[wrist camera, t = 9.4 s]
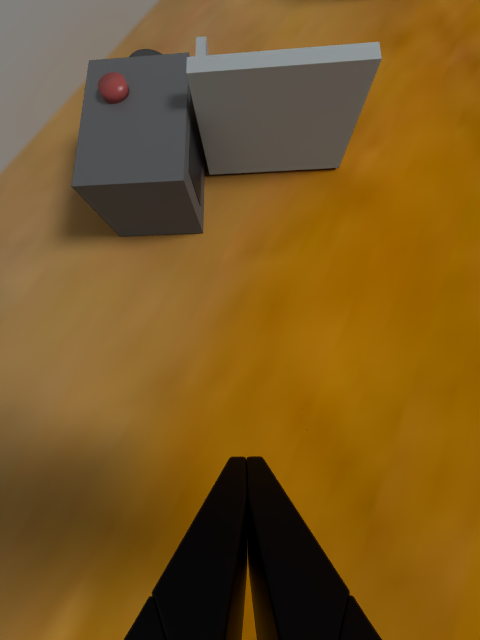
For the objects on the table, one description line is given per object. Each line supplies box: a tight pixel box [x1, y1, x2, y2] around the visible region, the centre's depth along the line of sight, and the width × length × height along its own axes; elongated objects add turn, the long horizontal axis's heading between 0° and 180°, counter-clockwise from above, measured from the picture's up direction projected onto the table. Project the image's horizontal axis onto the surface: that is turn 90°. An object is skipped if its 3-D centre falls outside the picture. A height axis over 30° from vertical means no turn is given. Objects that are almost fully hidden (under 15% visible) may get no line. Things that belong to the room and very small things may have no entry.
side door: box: [186, 36, 382, 175], centre depth 19 cm, size 6×11×8 cm, turn 91°
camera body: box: [72, 49, 205, 236], centre depth 20 cm, size 12×7×7 cm, turn 1°
